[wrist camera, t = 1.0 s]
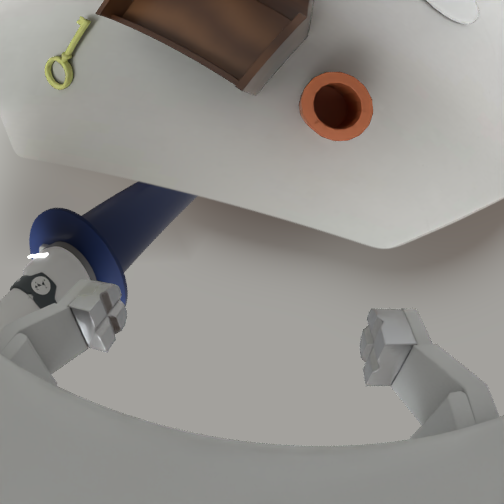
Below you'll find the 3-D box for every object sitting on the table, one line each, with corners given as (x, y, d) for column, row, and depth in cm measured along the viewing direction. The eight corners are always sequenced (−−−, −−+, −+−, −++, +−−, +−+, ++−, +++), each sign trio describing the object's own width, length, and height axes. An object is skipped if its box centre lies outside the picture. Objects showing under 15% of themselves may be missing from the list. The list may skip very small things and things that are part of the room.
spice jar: (328, 142, 31) (342, 155, 22) (288, 109, 29) (286, 109, 21) (360, 106, 28) (386, 106, 19) (320, 73, 27) (331, 58, 18)
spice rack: (255, 96, 29) (229, 86, 17) (134, 26, 25) (65, 6, 13) (308, 36, 25) (316, -10, 12) (178, -29, 21) (126, -72, 9)
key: (98, 19, 24) (89, 17, 23) (69, 92, 30) (59, 93, 29) (69, 16, 24) (61, 14, 22) (44, 83, 30) (35, 84, 28)
